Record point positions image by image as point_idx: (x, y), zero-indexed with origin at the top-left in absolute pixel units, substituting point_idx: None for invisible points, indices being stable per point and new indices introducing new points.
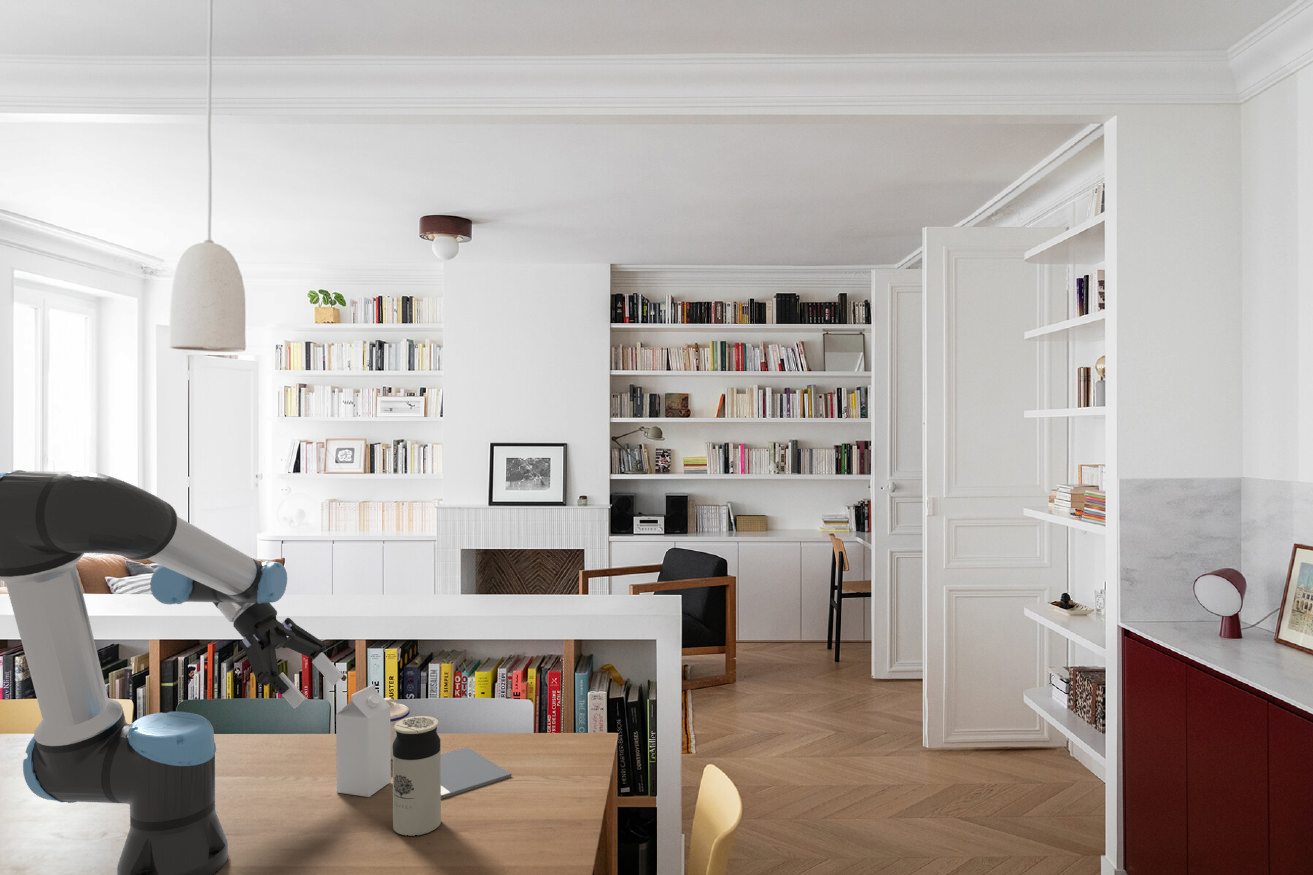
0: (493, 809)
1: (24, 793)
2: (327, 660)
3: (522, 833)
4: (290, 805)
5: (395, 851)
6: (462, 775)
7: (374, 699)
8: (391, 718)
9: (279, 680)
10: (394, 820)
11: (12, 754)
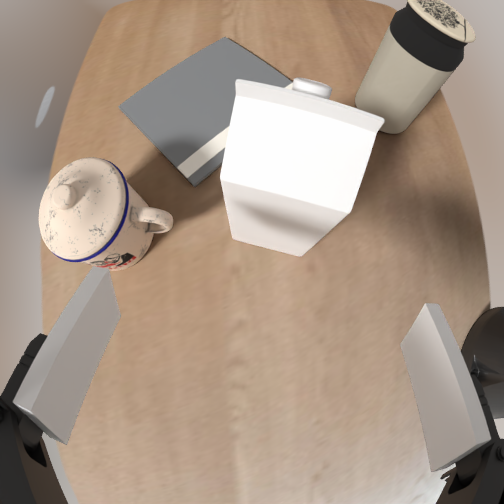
0: (321, 45)
1: None
2: (54, 355)
3: (365, 28)
4: (352, 318)
5: (435, 125)
6: (231, 80)
7: (315, 83)
8: (121, 177)
9: (486, 420)
10: (410, 123)
11: None
